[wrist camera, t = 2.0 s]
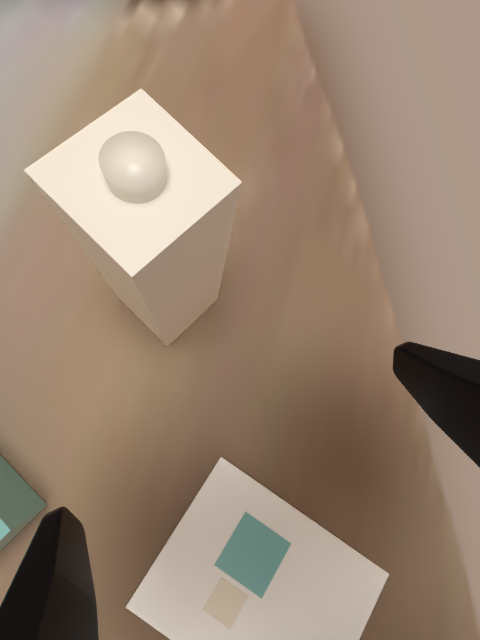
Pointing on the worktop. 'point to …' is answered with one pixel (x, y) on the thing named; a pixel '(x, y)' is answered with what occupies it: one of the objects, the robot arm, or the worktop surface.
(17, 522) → the base brick
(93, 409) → the worktop surface
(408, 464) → the worktop surface
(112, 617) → the worktop surface
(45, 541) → the robot arm
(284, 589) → the page
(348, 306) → the worktop surface
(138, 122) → the tall brick
